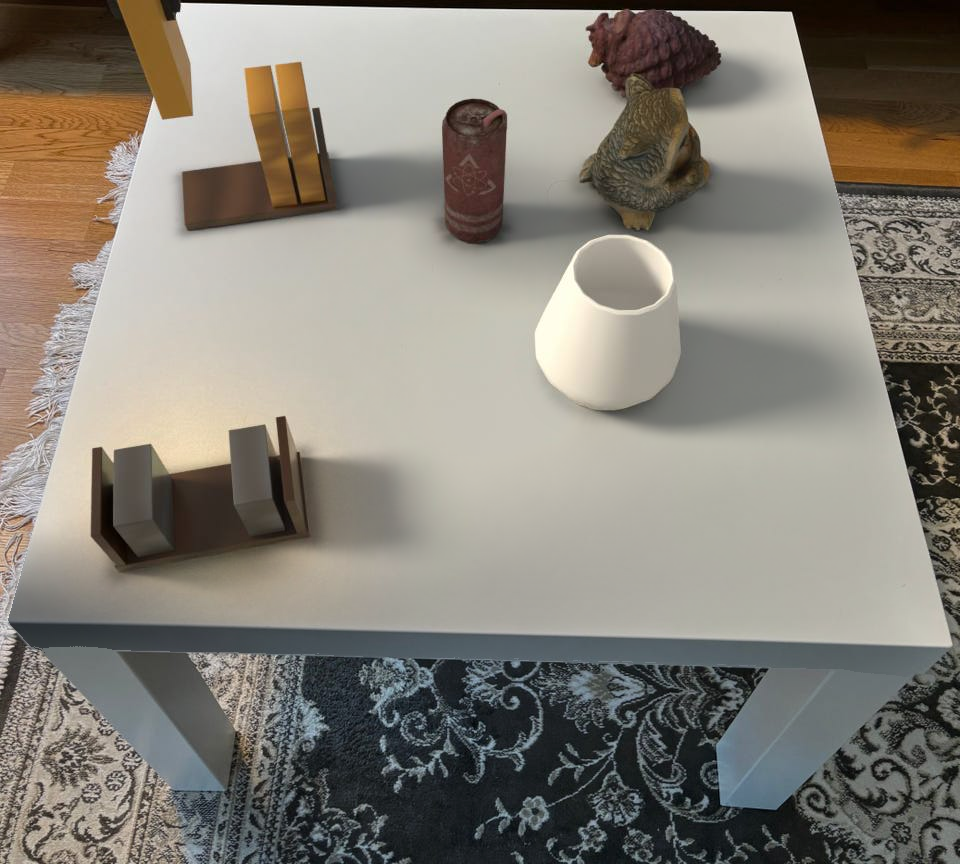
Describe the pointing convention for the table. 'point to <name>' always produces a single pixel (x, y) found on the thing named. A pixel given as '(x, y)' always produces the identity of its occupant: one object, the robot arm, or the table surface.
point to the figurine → (647, 155)
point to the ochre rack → (267, 160)
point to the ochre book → (160, 56)
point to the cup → (612, 325)
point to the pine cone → (651, 49)
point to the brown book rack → (198, 501)
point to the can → (474, 169)
